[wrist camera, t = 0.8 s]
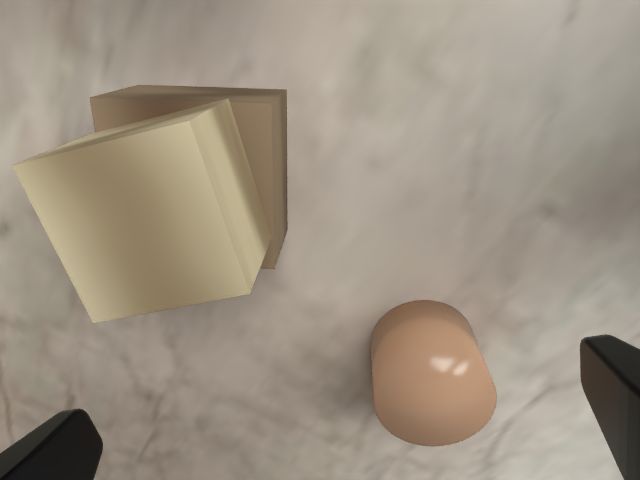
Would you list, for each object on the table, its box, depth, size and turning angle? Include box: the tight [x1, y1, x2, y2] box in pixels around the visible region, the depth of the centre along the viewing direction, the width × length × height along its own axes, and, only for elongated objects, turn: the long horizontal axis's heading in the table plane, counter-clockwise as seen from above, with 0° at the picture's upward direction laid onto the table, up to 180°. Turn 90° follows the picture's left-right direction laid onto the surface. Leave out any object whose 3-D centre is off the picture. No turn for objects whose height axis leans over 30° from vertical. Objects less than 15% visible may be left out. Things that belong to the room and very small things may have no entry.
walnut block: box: [90, 85, 287, 269], centre depth 18 cm, size 6×6×4 cm
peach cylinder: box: [371, 300, 497, 446], centre depth 21 cm, size 5×5×4 cm
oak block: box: [12, 99, 272, 323], centre depth 15 cm, size 5×5×4 cm
